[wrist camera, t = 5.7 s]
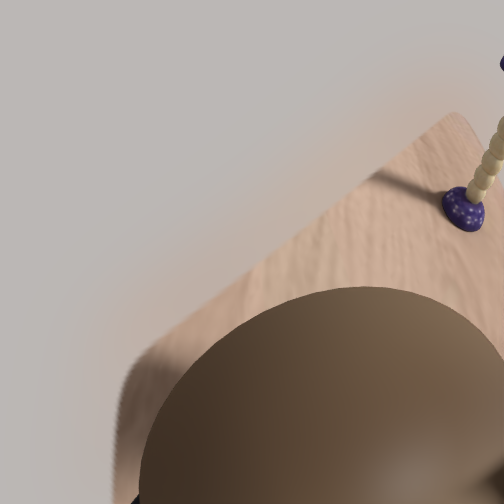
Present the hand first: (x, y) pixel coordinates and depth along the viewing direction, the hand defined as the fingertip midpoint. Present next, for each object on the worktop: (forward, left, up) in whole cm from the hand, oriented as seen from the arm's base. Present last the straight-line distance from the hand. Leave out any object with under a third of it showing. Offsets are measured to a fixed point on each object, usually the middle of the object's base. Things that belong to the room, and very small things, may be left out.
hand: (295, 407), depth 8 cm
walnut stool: (-1, 0, -7) cm, 7 cm away
